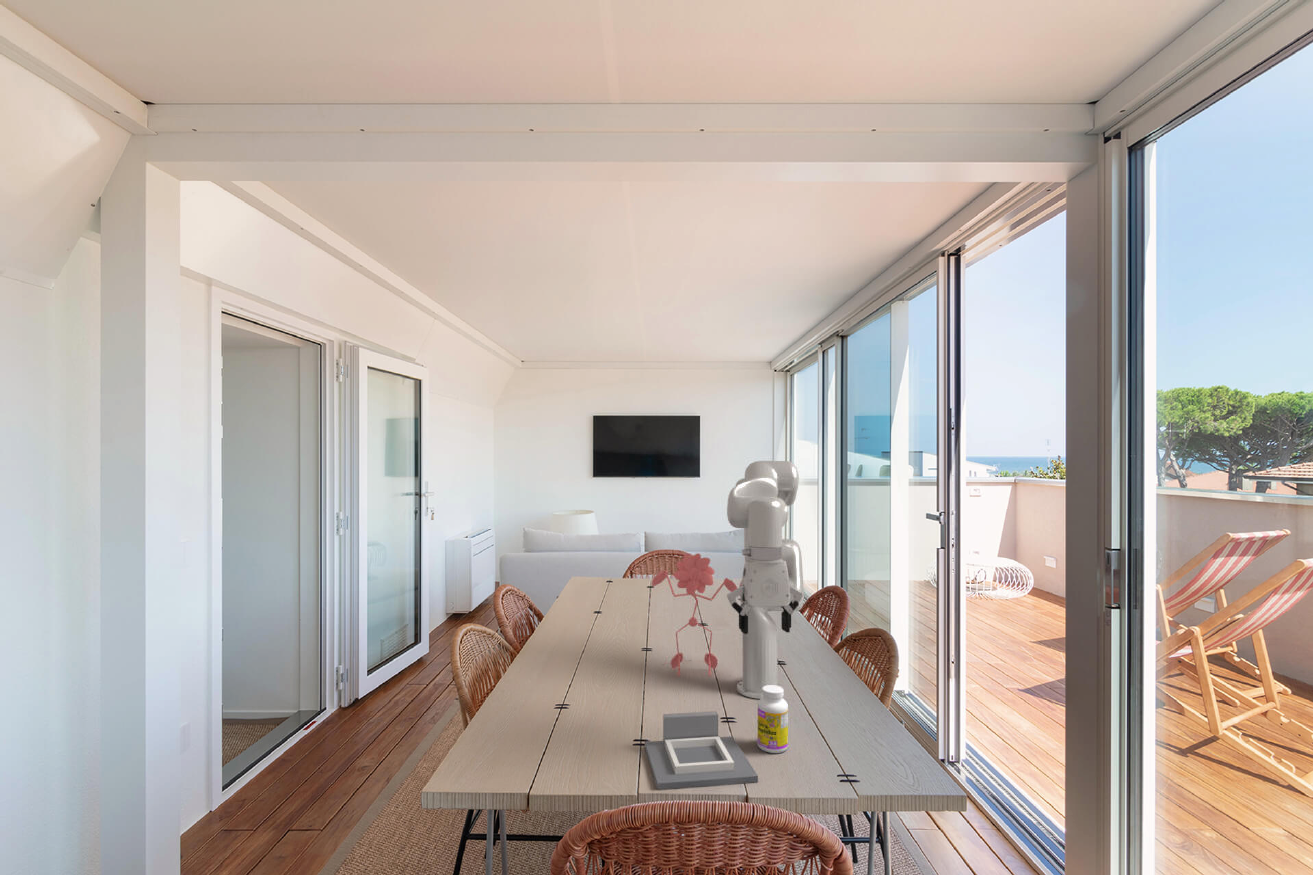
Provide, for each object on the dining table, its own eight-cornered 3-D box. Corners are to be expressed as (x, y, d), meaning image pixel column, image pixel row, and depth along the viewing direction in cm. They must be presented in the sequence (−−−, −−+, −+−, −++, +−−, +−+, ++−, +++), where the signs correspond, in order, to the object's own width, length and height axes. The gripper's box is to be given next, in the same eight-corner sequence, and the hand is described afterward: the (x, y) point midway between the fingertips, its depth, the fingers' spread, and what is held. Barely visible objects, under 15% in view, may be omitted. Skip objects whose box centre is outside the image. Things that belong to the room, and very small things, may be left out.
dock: (644, 747, 138) (645, 714, 138) (732, 741, 141) (732, 709, 141) (657, 789, 120) (657, 751, 120) (757, 782, 123) (757, 744, 123)
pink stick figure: (739, 677, 183) (738, 556, 185) (650, 676, 183) (651, 556, 185) (734, 661, 198) (733, 550, 200) (652, 661, 198) (652, 549, 201)
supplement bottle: (751, 747, 138) (751, 688, 139) (769, 737, 143) (768, 681, 143) (776, 757, 133) (776, 696, 134) (794, 747, 138) (793, 688, 139)
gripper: (732, 557, 135) (732, 637, 134) (808, 555, 138) (808, 634, 137) (723, 552, 142) (722, 629, 141) (794, 551, 145) (795, 626, 144)
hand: (765, 631), depth 139 cm, fingers open, 9 cm apart
